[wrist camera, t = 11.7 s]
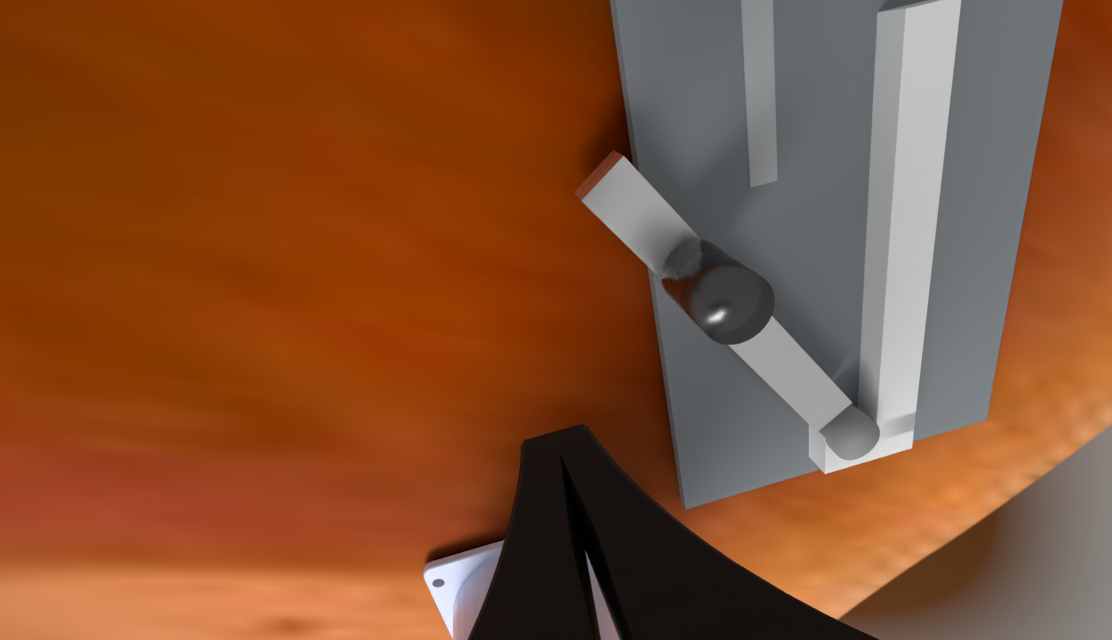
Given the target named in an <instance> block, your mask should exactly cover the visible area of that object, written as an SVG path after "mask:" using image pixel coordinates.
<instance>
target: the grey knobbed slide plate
mask: <svg viewBox="0 0 1112 640" xmlns="http://www.w3.org/2000/svg"><path fill="white" fill-rule="evenodd" d="M1062 5H1063V0H610V6H611V13H612V20H613V27H614V34H615V41H616V49H617V56H618V63H619V70H620V77H621V84H622V91H623V98H624V105H625V112H626V119H627V126H628V133H629V140H630V147H631V154H632V161H633V166H634V167H635V168H636V170H637V171H638V172H639V173H640V174H641V175H642V176H643V177H644V178H645V179H646V180H647V181H648V183H649V184H650V185H651V186H652V187H653V188H654V189H655V190H656V191H657V192H658V193H659V194H660V195H661V197H662V198H663V199H664V200H665V201H666V202H667V203H668V204H669V205H670V206H671V207H672V208H673V210H674V211H675V212H676V213H677V214H678V215H679V216H680V217H681V218H682V219H683V220H684V221H685V222H686V224H687V225H688V226H689V227H690V228H691V229H692V230H693V231H694V232H695V233H696V234H697V235H698V237H699V238H700V239H701V240H705V241H708V242H710V243H712V244H714V245H715V246H717V247H718V248H720V249H721V250H723V251H724V252H726V253H727V254H729V255H730V256H732V257H733V258H735V259H736V260H737V261H739V262H740V263H742V264H743V265H745V266H746V267H748V268H749V269H751V270H752V271H754V272H755V273H757V274H758V275H760V276H761V277H763V278H764V279H765V280H767V281H768V283H769V284H770V285H771V287H772V289H773V292H774V296H775V306H774V311H773V314H772V316H773V317H774V319H775V320H776V321H777V322H778V323H779V324H780V325H781V326H782V327H783V328H784V329H785V330H786V332H787V333H788V334H789V335H790V336H791V337H792V338H793V339H794V340H795V341H796V342H797V343H798V344H799V346H800V347H801V348H802V349H803V350H804V351H805V352H806V353H807V354H808V355H809V356H810V357H811V359H812V360H813V361H814V362H815V363H816V364H817V365H818V366H819V367H820V368H821V369H822V370H823V371H824V373H825V374H826V375H827V376H828V377H829V378H830V379H831V380H832V381H833V382H834V383H835V384H836V386H837V387H838V388H839V389H840V390H841V391H842V392H843V393H844V394H845V395H846V396H847V397H848V398H849V400H850V401H851V402H852V403H851V404H850V405H849V406H848V407H847V408H845V409H844V410H843V411H842V412H841V413H839V414H838V415H837V416H836V417H835V418H834V419H832V420H831V421H830V422H829V423H828V424H826V425H825V426H824V427H823V428H822V429H821V430H819V431H818V432H816V431H815V430H814V429H813V428H812V427H811V426H810V425H809V424H808V423H807V422H806V421H805V420H804V419H803V418H802V417H801V416H800V415H799V414H798V413H797V412H796V411H795V410H794V409H793V408H792V407H791V406H790V405H789V404H788V403H787V402H786V401H785V400H784V399H783V398H782V397H781V396H780V395H779V394H778V393H777V392H776V391H775V390H774V389H773V388H772V387H771V386H769V385H768V384H767V383H766V382H765V381H764V380H763V379H762V378H761V377H760V376H759V375H758V374H757V373H756V372H755V371H754V370H753V369H752V368H751V367H750V366H749V365H748V364H747V363H746V362H745V361H744V360H743V359H742V358H741V357H740V356H739V355H738V354H737V353H736V352H735V351H734V350H733V349H732V348H731V347H730V346H729V345H724V344H720V343H717V342H715V341H713V340H712V339H711V338H709V337H708V336H707V335H706V334H705V333H704V331H703V330H702V329H701V328H700V327H699V326H698V325H697V324H696V323H695V322H694V321H693V320H692V319H691V318H690V317H689V316H688V315H687V314H686V313H685V312H684V311H683V310H682V308H681V307H680V306H679V305H678V304H677V303H676V302H675V301H674V300H673V299H672V298H671V297H670V296H669V295H668V294H667V293H666V291H665V290H664V287H663V285H662V281H661V279H660V278H659V277H658V276H657V275H656V274H655V273H654V272H653V271H652V270H651V269H650V268H649V267H648V274H649V281H650V288H651V295H652V302H653V309H654V316H655V323H656V330H657V337H658V344H659V351H660V358H661V365H662V372H663V379H664V386H665V393H666V400H667V407H668V414H669V421H670V428H671V435H672V442H673V449H674V456H675V463H676V470H677V477H678V484H679V491H680V499H681V502H682V504H683V505H684V507H685V509H689V508H693V507H696V506H699V505H703V504H706V503H709V502H713V501H716V500H720V499H723V498H726V497H730V496H733V495H736V494H740V493H743V492H746V491H750V490H753V489H756V488H760V487H763V486H767V485H770V484H773V483H777V482H780V481H783V480H787V479H790V478H793V477H797V476H800V475H803V474H807V473H810V472H814V471H817V470H820V469H821V470H822V471H823V472H824V473H825V474H827V473H830V472H834V471H837V470H840V469H844V468H847V467H850V466H854V465H857V464H860V463H864V462H867V461H870V460H874V459H877V458H880V457H884V456H887V455H890V454H894V453H897V452H901V451H904V450H907V449H911V448H912V443H913V442H914V441H918V440H921V439H924V438H928V437H931V436H934V435H938V434H941V433H945V432H948V431H951V430H955V429H958V428H961V427H965V426H968V425H971V424H975V423H978V422H981V421H985V420H986V419H987V414H988V409H989V403H990V398H991V392H992V387H993V381H994V376H995V370H996V365H997V359H998V354H999V349H1000V343H1001V338H1002V332H1003V327H1004V321H1005V316H1006V310H1007V305H1008V299H1009V294H1010V289H1011V283H1012V278H1013V272H1014V267H1015V261H1016V256H1017V250H1018V245H1019V240H1020V234H1021V229H1022V223H1023V218H1024V212H1025V207H1026V201H1027V196H1028V190H1029V185H1030V180H1031V174H1032V169H1033V163H1034V158H1035V152H1036V147H1037V141H1038V136H1039V130H1040V125H1041V120H1042V114H1043V109H1044V103H1045V98H1046V92H1047V87H1048V81H1049V76H1050V70H1051V65H1052V60H1053V54H1054V49H1055V43H1056V38H1057V32H1058V27H1059V21H1060V16H1061V10H1062Z"/></svg>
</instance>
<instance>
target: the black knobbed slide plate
mask: <svg viewBox="0 0 1112 640" xmlns="http://www.w3.org/2000/svg"><path fill="white" fill-rule="evenodd" d="M573 193H574V194H575V195H576V196H577V197H578V198H579V199H580V200H581V201H582V202H583V203H584V204H585V205H586V206H587V207H588V208H589V209H590V210H591V211H592V212H593V213H594V214H595V215H596V216H597V217H598V218H599V219H600V220H601V221H602V222H603V223H604V224H605V225H606V226H607V227H608V228H609V229H610V230H612V231H613V232H614V233H615V234H616V235H617V236H618V237H619V238H620V239H621V240H622V241H623V242H624V243H625V244H626V245H627V246H628V247H629V248H630V249H631V250H632V251H633V252H634V253H635V254H636V255H637V256H638V257H639V258H640V259H641V260H642V261H643V262H644V263H645V264H646V265H647V266H648V267H649V268H650V269H651V270H652V271H653V272H654V273H655V274H656V275H657V276H658V277H659V278H660V279H661V281H662V285H663V287H664V290H665V291H666V293H667V294H668V295H669V296H670V297H671V298H672V299H673V300H674V301H675V302H676V303H677V304H678V305H679V306H680V307H681V308H682V310H683V311H684V312H685V313H686V314H687V315H688V316H689V317H690V318H691V319H692V320H693V321H694V322H695V323H696V324H697V325H698V326H699V327H700V328H701V329H702V330H703V331H704V333H705V334H706V335H707V336H708V337H709V338H711V339H712V340H713V341H715V342H717V343H720V344H724V345H729V346H730V347H731V348H732V349H733V350H734V351H735V352H736V353H737V354H738V355H739V356H740V357H741V358H742V359H743V360H744V361H745V362H746V363H747V364H748V365H749V366H750V367H751V368H752V369H753V370H754V371H755V372H756V373H757V374H758V375H759V376H760V377H761V378H762V379H763V380H764V381H765V382H766V383H767V384H768V385H769V386H771V387H772V388H773V389H774V390H775V391H776V392H777V393H778V394H779V395H780V396H781V397H782V398H783V399H784V400H785V401H786V402H787V403H788V404H789V405H790V406H791V407H792V408H793V409H794V410H795V411H796V412H797V413H798V414H799V415H800V416H801V417H802V418H803V419H804V420H805V421H806V422H807V423H808V424H809V425H810V426H811V427H812V428H813V429H814V430H815V431H816V432H818V431H819V430H821V429H822V428H823V427H824V426H825V425H826V424H828V423H829V422H830V421H831V420H832V419H834V418H835V417H836V416H837V415H838V414H839V413H841V412H842V411H843V410H844V409H845V408H847V407H848V406H849V405H850V404H851V403H852V402H851V401H850V400H849V398H848V397H847V396H846V395H845V394H844V393H843V392H842V391H841V390H840V389H839V388H838V387H837V386H836V384H835V383H834V382H833V381H832V380H831V379H830V378H829V377H828V376H827V375H826V374H825V373H824V371H823V370H822V369H821V368H820V367H819V366H818V365H817V364H816V363H815V362H814V361H813V360H812V359H811V357H810V356H809V355H808V354H807V353H806V352H805V351H804V350H803V349H802V348H801V347H800V346H799V344H798V343H797V342H796V341H795V340H794V339H793V338H792V337H791V336H790V335H789V334H788V333H787V332H786V330H785V329H784V328H783V327H782V326H781V325H780V324H779V323H778V322H777V321H776V320H775V319H774V317H773V316H772V314H773V311H774V306H775V296H774V292H773V289H772V287H771V285H770V284H769V283H768V281H767V280H765V279H764V278H763V277H761V276H760V275H758V274H757V273H755V272H754V271H752V270H751V269H749V268H748V267H746V266H745V265H743V264H742V263H740V262H739V261H737V260H736V259H735V258H733V257H732V256H730V255H729V254H727V253H726V252H724V251H723V250H721V249H720V248H718V247H717V246H715V245H714V244H712V243H710V242H708V241H705V240H701V239H700V238H699V237H698V235H697V234H696V233H695V232H694V231H693V230H692V229H691V228H690V227H689V226H688V225H687V224H686V222H685V221H684V220H683V219H682V218H681V217H680V216H679V215H678V214H677V213H676V212H675V211H674V210H673V208H672V207H671V206H670V205H669V204H668V203H667V202H666V201H665V200H664V199H663V198H662V197H661V195H660V194H659V193H658V192H657V191H656V190H655V189H654V188H653V187H652V186H651V185H650V184H649V183H648V181H647V180H646V179H645V178H644V177H643V176H642V175H641V174H640V173H639V172H638V171H637V170H636V168H635V167H634V166H633V165H632V164H631V163H630V162H629V161H628V160H627V159H626V158H625V157H624V156H623V155H621V154H619V153H617V152H615V151H612V152H611V153H610V154H609V155H608V156H607V157H606V158H605V159H604V160H603V161H602V162H601V164H600V165H599V166H598V167H597V168H596V169H595V170H594V171H593V172H592V173H591V174H590V175H589V176H588V177H587V179H586V180H585V181H584V182H583V183H582V184H581V185H580V186H579V187H578V188H577V189H576V190H575V191H574V192H573Z"/></svg>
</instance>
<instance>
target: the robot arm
mask: <svg viewBox="0 0 1112 640" xmlns="http://www.w3.org/2000/svg"><path fill="white" fill-rule="evenodd" d="M423 576H424V579H425V581H426V584H427V586H428V588H429V590H430V592H431V594H432V596H433V598H434V601H435V603H436V605H437V607H438V609H439V611H440V613H441V615H442V618H443V620H444V622H445V624H446V626H447V628H448V630H449V632H450V635H451V637H452V639H453V640H879V639H877V638H874V637H872V636H870V635H868V634H866V633H863V632H861V631H859V630H857V629H854V628H853V627H851V626H848V625H847V624H844V623H842V622H840V621H838V620H836V619H834V618H832V617H830V616H828V615H826V614H824V613H822V612H820V611H819V610H817V609H815V608H813V607H811V606H809V605H807V604H806V603H804V602H802V601H800V600H798V599H796V598H794V597H792V596H791V595H789V594H787V593H785V592H784V591H782V590H780V589H779V588H777V587H775V586H774V585H772V584H770V583H769V582H767V581H765V580H764V579H762V578H760V577H759V576H757V575H755V574H754V573H752V572H750V571H749V570H747V569H745V568H744V567H742V566H740V565H739V564H737V563H736V562H734V561H733V560H731V559H730V558H728V557H727V556H725V555H724V554H722V553H721V552H720V551H718V550H717V549H715V548H714V547H712V546H711V545H709V544H708V543H707V542H705V541H704V540H703V539H701V538H700V537H699V536H697V535H696V534H694V533H693V532H692V531H690V530H689V529H688V528H687V527H685V526H684V525H683V524H682V523H680V522H679V521H678V520H677V519H675V518H674V517H673V516H672V515H671V514H669V513H668V512H667V511H666V510H665V509H664V508H662V507H661V506H660V505H659V504H658V503H657V502H656V501H654V500H653V499H652V498H651V497H650V496H649V495H648V494H647V493H646V492H645V491H644V490H642V489H641V488H640V487H639V486H638V485H637V484H636V483H635V482H634V481H633V480H632V479H631V478H630V477H629V476H628V475H627V474H626V473H625V472H624V471H623V470H622V469H621V467H620V466H619V465H618V464H617V463H616V462H615V461H614V460H613V459H612V458H611V456H610V455H609V454H608V453H607V452H606V451H605V449H604V448H603V447H602V446H601V445H600V443H599V442H598V441H597V439H596V438H595V437H594V435H593V434H592V432H591V431H590V429H589V427H587V426H585V425H583V424H580V425H576V426H573V427H569V428H566V429H562V430H559V431H555V432H552V433H548V434H545V435H541V436H538V437H534V438H531V439H527V440H525V441H524V442H523V444H522V445H521V461H520V470H519V478H518V484H517V490H516V495H515V499H514V504H513V508H512V513H511V518H510V522H509V526H508V529H507V533H506V536H505V540H503V541H499V542H496V543H492V544H489V545H486V546H482V547H479V548H475V549H472V550H469V551H465V552H462V553H459V554H455V555H452V556H448V557H445V558H442V559H438V560H435V561H432V562H429V563H428V564H427V565H425V567H424V573H423ZM436 579H441V580H436Z"/></svg>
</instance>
